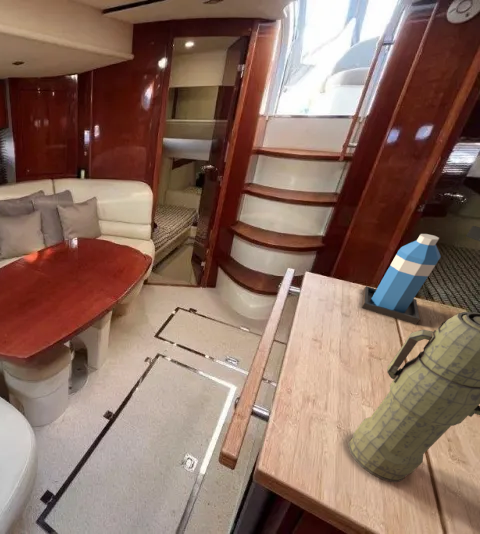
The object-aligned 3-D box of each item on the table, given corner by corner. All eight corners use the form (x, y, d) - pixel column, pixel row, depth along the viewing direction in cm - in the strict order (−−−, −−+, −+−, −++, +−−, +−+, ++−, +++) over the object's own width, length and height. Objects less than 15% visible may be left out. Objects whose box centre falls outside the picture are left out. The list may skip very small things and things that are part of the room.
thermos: (339, 424, 67) (426, 293, 49) (413, 459, 60) (545, 323, 43) (336, 456, 61) (435, 322, 43) (418, 499, 54) (573, 361, 37)
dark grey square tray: (413, 304, 102) (416, 299, 101) (416, 324, 94) (419, 319, 93) (363, 290, 110) (365, 285, 109) (361, 308, 101) (364, 303, 100)
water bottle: (367, 293, 107) (403, 228, 95) (403, 301, 103) (445, 233, 91) (373, 308, 100) (412, 239, 88) (411, 316, 96) (458, 246, 84)
